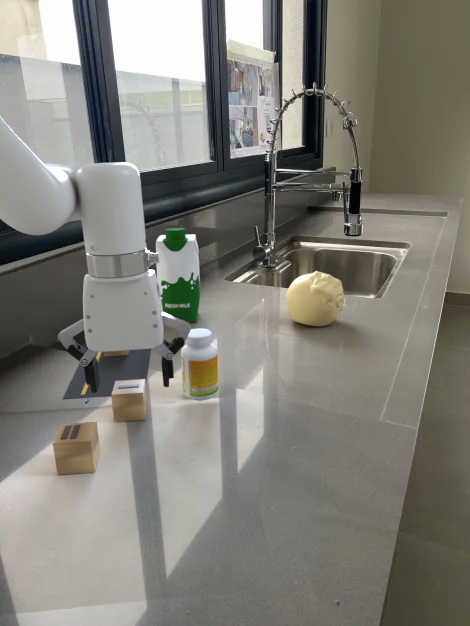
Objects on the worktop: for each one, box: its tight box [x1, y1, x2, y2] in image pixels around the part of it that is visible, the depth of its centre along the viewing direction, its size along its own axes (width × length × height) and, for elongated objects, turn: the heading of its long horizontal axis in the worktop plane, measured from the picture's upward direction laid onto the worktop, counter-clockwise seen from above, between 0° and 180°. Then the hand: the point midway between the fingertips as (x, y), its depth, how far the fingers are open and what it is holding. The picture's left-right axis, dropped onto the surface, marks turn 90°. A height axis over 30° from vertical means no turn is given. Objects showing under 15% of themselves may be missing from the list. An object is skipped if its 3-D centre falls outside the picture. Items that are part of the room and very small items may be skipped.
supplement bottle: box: [180, 327, 220, 401], centre depth 74 cm, size 5×5×10 cm
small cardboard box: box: [104, 350, 129, 356], centre depth 90 cm, size 4×4×4 cm
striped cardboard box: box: [52, 421, 101, 476], centre depth 58 cm, size 4×4×4 cm
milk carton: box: [155, 227, 201, 324], centre depth 105 cm, size 9×9×20 cm
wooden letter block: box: [110, 379, 148, 423], centre depth 69 cm, size 4×4×4 cm
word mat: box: [62, 348, 152, 400], centre depth 83 cm, size 12×20×1 cm, turn 6°
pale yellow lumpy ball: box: [285, 270, 345, 327], centre depth 103 cm, size 12×12×11 cm
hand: (131, 385), depth 68 cm, fingers open, 9 cm apart
